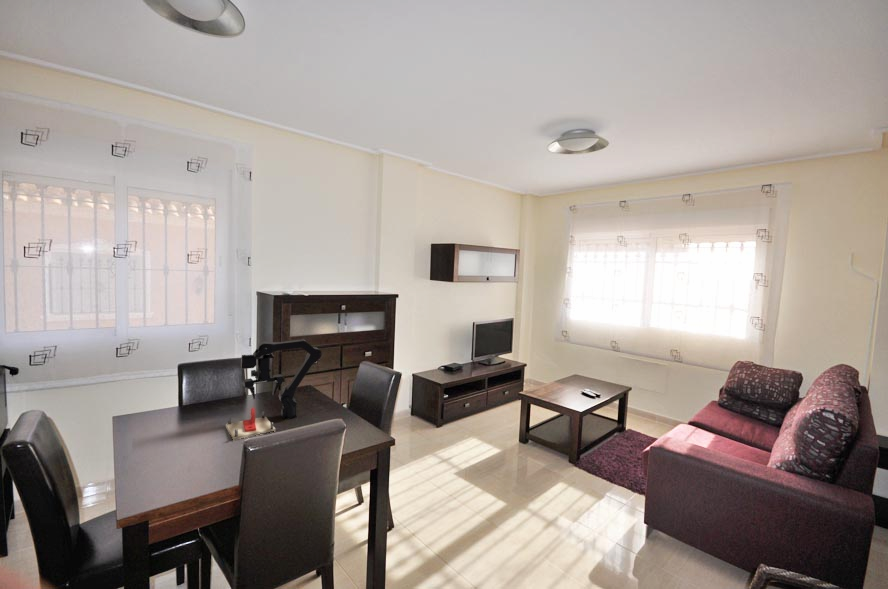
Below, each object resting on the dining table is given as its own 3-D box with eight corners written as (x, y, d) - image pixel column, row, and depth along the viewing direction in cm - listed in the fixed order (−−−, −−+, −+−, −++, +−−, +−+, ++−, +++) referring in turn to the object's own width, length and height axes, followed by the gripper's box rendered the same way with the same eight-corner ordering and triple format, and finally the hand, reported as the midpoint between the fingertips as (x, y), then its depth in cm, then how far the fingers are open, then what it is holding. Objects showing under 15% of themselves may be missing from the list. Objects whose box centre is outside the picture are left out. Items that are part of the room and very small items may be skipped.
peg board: (265, 419, 201) (265, 410, 201) (275, 431, 187) (275, 422, 187) (225, 426, 190) (225, 417, 190) (233, 440, 176) (233, 431, 176)
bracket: (243, 422, 192) (243, 406, 192) (253, 421, 195) (253, 405, 194) (245, 432, 182) (245, 415, 182) (256, 430, 185) (256, 414, 184)
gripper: (278, 361, 210) (277, 389, 211) (239, 365, 198) (239, 396, 199) (285, 365, 201) (284, 395, 203) (245, 371, 189) (245, 402, 191)
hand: (263, 397), depth 199 cm, fingers open, 9 cm apart
